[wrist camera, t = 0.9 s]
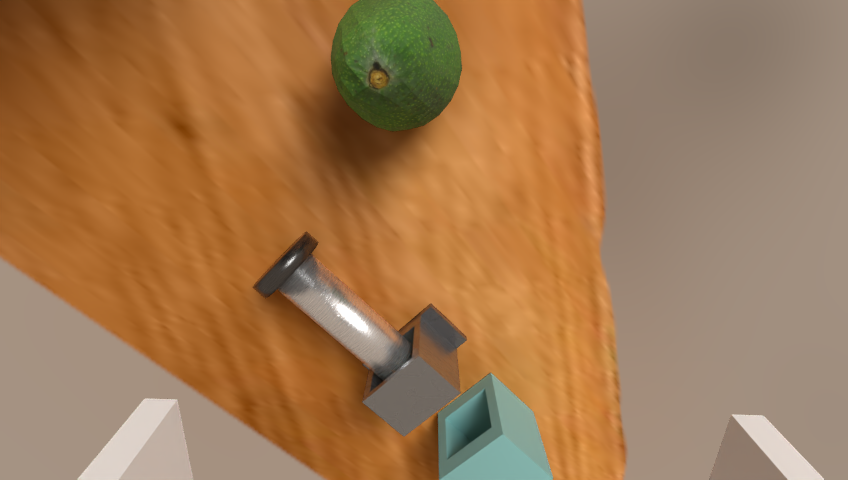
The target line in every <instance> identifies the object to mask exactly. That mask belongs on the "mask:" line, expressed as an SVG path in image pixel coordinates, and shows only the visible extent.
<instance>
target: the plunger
mask: <svg viewBox="0 0 848 480" xmlns="http://www.w3.org/2000/svg"><path fill="white" fill-rule="evenodd" d="M318 243H319V242H318V241H317V240H315V239H314V238H313V237H312V236H311V235H310V234H309V233H308V232H307V231H306V232H305V233H304V234H303V235H301V236H300V237H299V238H298V239H297V240H296V241H295V242H294V243H293V244H292V245H291V246H290V247H289V248H288V249H287V250H286V251H285V252H284V253H283V254H282V255H281V256H280V257H279V258H278V259H277V260H276V261H275V263H274V264H273V265H272V266H271V267H270V268H269V269H268V270H267V271H266V272H265V273H264V274H263V275H262V277H261V278H260V279H259V280H258V281H257V282H256V283H255V285H254V286H253V288H254V289H255V290H256V291H257V292H258V293H260V294H261V295H262V296H263V297H264V298H267V297H269V296H270V295H271V294H272V293H274V292H275V291H276V290H278V291H279V292H280V293H282V294H283V295H284V296H285V297H286V298H287V299H289V300H290V301H291V302H292V303H293V304H295V305H296V306H297V307H298V308H299V309H300V310H302V311H303V312H304V313H305V314H306V315H307V316H309V317H310V318H311V319H312V320H313V321H314V322H316V323H317V324H318V325H319V326H320V327H321V328H323V329H324V330H325V331H326V332H327V333H328V334H330V335H331V336H332V337H333V338H334V339H336V340H337V341H338V342H339V343H340V344H341V345H343V346H344V347H345V348H346V349H347V350H348V351H350V352H351V353H352V354H353V355H354V356H355V357H357V358H358V359H359V360H360V361H361V362H362V363H364V364H365V365H366V366H367V367H368V368H369V369H371V370H372V371H373V372H374V373H375V374H377V375H378V376H379V377H380V378H381V379H382V380H385V379H387V378H388V377H389V376H390V375H392V374H393V373H394V372H395V371H396V370H398V369H399V368H400V367H401V366H402V365H404V364H405V363H406V362H407V361H409V360H410V359H411V358H412V354H413V345H412V344H411V343H410V342H409V341H408V340H407V339H406V338H404V337H403V336H402V335H401V334H400V333H399V332H398V331H397V330H396V329H394V328H393V327H392V326H391V325H390V324H389V323H388V322H387V321H386V320H384V319H383V318H382V317H381V316H380V315H379V314H378V313H377V312H376V311H374V310H373V309H372V308H371V307H370V306H369V305H368V304H367V303H365V302H364V301H363V300H362V299H361V298H360V297H359V296H358V295H357V294H355V293H354V292H353V291H352V290H351V289H350V288H349V287H348V286H347V285H345V284H344V283H343V282H342V281H341V280H340V279H339V278H338V277H336V276H335V275H334V274H333V273H332V272H331V271H330V270H329V269H328V268H326V267H325V266H324V265H323V264H322V263H321V262H320V261H319V260H318V259H316V258H315V257H314V256H313V255H312V254H311V253H312V251H313V250H314V249H315V248H316V246H317V245H318Z"/></svg>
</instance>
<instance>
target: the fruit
mask: <svg viewBox="0 0 848 480" xmlns="http://www.w3.org/2000/svg"><path fill="white" fill-rule="evenodd" d="M331 65H332V74H333V77H334V80H335V83H336V86H337V89H338V91H339V92H340V94H341V95H342V97H343V98H344V100H345V102H346V103H347V105H348V106H350V107H351V108H352V109H353V110H354V111H355V112H356V113H357V114H358V115H359V116H360V117H361V118H362V119H363V120H365V121H367V122H369V123H371V124H372V125H374V126H376V127H378V128H382V129H385V130H389V131H400V130H408V129H412V128H416V127H420V126H424V125H425V124H427V123H428V122H430V121H431V120H433V119H434V118H436V117H437V116H438V115H439V114H440V113H441V112H442V111H443V110H444V108H445V107H446V106H447V105H448V104H449V102H450V101H451V99H452V97H453V95H454V93H455V91H456V89H457V87H458V84H459V80H460V75H461V71H462V64H461V51H460V47H459V43H458V39H457V34H456V32H455V30H454V28H453V26H452V24H451V22H450V20H449V18H448V16H447V15H446V14H445V13H444V12H443V10H442V9H441V8H440V7H439V6H438V5H437V4H436V3H435V2H434V1H433V0H359V1H358V2H356V3H355V4H353V5H352V6H351V7H350V8H349V10H348V11H347V12H346V14H345V15H344V17H343V18H342V19H341V21H340V22H339V24H338V27H337V30H336V33H335V36H334V39H333V45H332V52H331Z"/></svg>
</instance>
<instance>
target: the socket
mask: <svg viewBox="0 0 848 480" xmlns="http://www.w3.org/2000/svg"><path fill="white" fill-rule="evenodd" d="M438 446H439V480H552V479H553V476H552V473H551V469H550V466H549V463H548V459H547V456H546V453H545V449H544V446H543V443H542V439H541V436H540V433H539V429H538V426H537V423H536V420H535V416H534V413H533V411H532V410H531V409H530V408H528V407H527V406H526V405H525V404H524V403H523V402H522V401H521V400H520V399H519V398H518V397H517V396H516V395H514V394H513V393H512V392H511V391H510V390H509V389H508V388H507V387H506V386H505V385H504V384H503V383H502V382H500V381H499V380H498V379H497V378H496V377H495V376H494V375H493V374H492V373H490V374H488V375H487V376H486V377H484V378H483V379H482V380H480V381H479V382H478V383H477V384H475V385H474V386H473V387H471V388H470V389H469V390H467V391H466V392H465V393H464V394H462V395H461V396H460V397H458V398H457V399H456V400H454V401H453V402H452V403H451V404H449V405H448V406H447V407H445V408H444V409H443V410H441V411H440V412H439V413H438Z"/></svg>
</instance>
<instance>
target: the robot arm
mask: <svg viewBox="0 0 848 480" xmlns="http://www.w3.org/2000/svg"><path fill="white" fill-rule="evenodd" d="M77 480H193V475H192V470H191V465H190V460H189V455H188V450H187V445H186V440H185V435H184V430H183V425H182V420H181V415H180V410H179V406H178V400H176V399H144V400H143V401H142V403H141V404H140V405H139V406H138V407H137V408H136V410H135V411H134V412H133V413H132V414H131V416H130V417H129V418H128V419H127V420H126V422H125V423H124V424H123V425H122V426H121V428H120V429H119V430H118V431H117V432H116V434H115V435H114V436H113V437H112V438H111V440H110V441H109V442H108V443H107V445H106V446H105V447H104V448H103V449H102V450H101V452H100V453H99V454H98V456H97V457H96V458H95V459H94V460H93V461H92V462H91V464H90V465H89V466H88V467H87V468H86V470H85V471H84V472H83V473H82V474H81V476H80V477H79V478H78V479H77ZM709 480H824V479H823V477H822V476H821V475H820V474H819V473H818V472H817V471H816V470H815V469H814V468H813V467H812V466H811V465H810V464H809V463H808V462H807V461H806V460H805V459H804V458H803V457H802V456H801V454H799V452H798V451H797V450H796V449H794V447H793V446H792V445H791V444H790V443H789V442H788V441H787V440H786V439H785V438H784V437H783V436H782V435H781V434H780V433H779V431H778V430H777V429H775V427H774V426H773V425H772V424H771V423H770V422H769V421H768V420H767V419H766V418H765V417H764V416H762V415H731V417H730V420H729V423H728V426H727V429H726V432H725V435H724V438H723V441H722V443H721V446H720V449H719V452H718V455H717V458H716V461H715V464H714V467H713V470H712V473H711V476H710V479H709Z"/></svg>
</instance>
